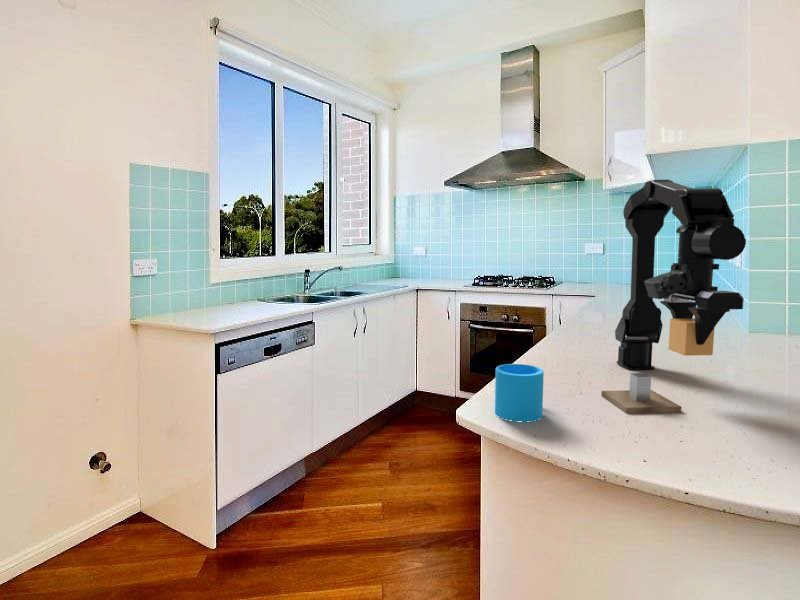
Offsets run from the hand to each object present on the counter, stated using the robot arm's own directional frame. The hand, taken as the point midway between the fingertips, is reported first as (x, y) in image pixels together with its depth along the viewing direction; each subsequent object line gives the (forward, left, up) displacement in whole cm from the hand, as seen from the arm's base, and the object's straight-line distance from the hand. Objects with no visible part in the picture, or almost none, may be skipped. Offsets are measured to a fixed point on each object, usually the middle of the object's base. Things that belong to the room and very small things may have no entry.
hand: (690, 341), depth 94 cm
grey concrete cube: (+10, +1, -12) cm, 15 cm away
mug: (+33, +4, -12) cm, 35 cm away
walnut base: (+10, +1, -12) cm, 15 cm away
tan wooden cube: (0, 0, -2) cm, 2 cm away
